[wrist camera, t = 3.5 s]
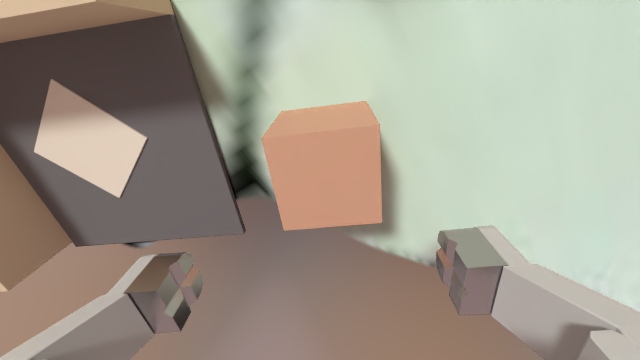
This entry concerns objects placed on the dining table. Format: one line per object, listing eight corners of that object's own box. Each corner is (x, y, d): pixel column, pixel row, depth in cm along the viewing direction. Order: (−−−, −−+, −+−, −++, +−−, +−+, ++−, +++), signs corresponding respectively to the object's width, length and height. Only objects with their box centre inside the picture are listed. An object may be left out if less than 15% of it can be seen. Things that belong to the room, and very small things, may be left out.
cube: (365, 100, 15) (379, 124, 11) (369, 177, 17) (382, 223, 13) (281, 110, 16) (261, 138, 11) (295, 183, 18) (283, 230, 13)
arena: (166, -9, 13) (79, -36, 8) (245, 230, 20) (220, 284, 15) (-87, 36, 14) (-273, 34, 10) (69, 244, 21) (0, 296, 17)
